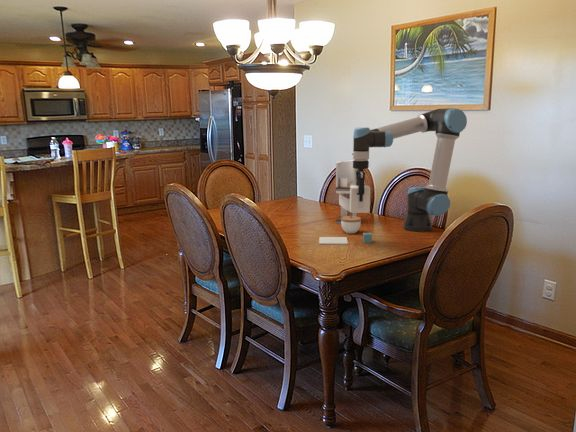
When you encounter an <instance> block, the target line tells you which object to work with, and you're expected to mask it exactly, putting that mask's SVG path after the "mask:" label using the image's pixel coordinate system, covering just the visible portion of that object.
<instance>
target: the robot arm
mask: <svg viewBox="0 0 576 432" xmlns="http://www.w3.org/2000/svg"><path fill="white" fill-rule="evenodd" d="M467 123H468V118H467V116H466V114H465V112H464V111H463V110H462V109H459V108H455V107H450V108H449V107H448V108H436V109H433V110H430V111H426V112H424V113H420V114H418V115H417V117H413V118H409V119H406V120H402V121H399V122H396V123H390V124H388V125H383V126H381V127H380V126H379V127H377V128H372V129H371V128H370V127H367V126H366V127H363V126H362V127H355V128H354V129H353V143H352V144H353V151H352V153H351V155H352V160H353V168H355V169H357V171H356V186H358V193H357V195H358V208H363V204H364V186H365V178H366V177H365V175H366V172H365V169H366V170H368V169H369V166H370V165H369V164H370V163H369V159H370V148H390V147H391V146H392V145H393V142H394V140H395V139H397V138H401V137H405V136H409V135H412V134H416V133H420V132H421V133H422V134H423V133H427V132H435V133H434V135H435V136H436V137H437V139H436V144H435V149H434V155H433V161H432V164H431V170H430V175H429V179H428V180H429V181H428V184H427V185H425V186H414V187H413V186H412V187H409V188H408V189H407V190H408V191H407V210H406V211H407V213H406V217H405V219H404V222H403V226H402V227H403V228H402V229H404V230H407V231H412V232H429V231H431V230H432V229H433V224H432V221H431V217H430V216H435V217H441V216H442V215H444V214H446V213H447V212H448V211H449V209H450V206H451V200H450V198H449V196H448V192H449V190H448V189H447V182H448V177H449V173H450V167H451V164H452V163H451V162H452V157H453V153H454V147H455V144H456V143H455V142H456V140H457V139H458V138H460V134H461V133H462V132H463V131H464V130H465V129H466V128H467ZM360 191H362V192H360Z"/></svg>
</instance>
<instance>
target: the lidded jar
mask: <svg viewBox="0 0 576 432" xmlns="http://www.w3.org/2000/svg"><path fill="white" fill-rule="evenodd" d="M361 222H362V218H361V217H360V216H352V215H350V216H344V217H341V224H340V225H341V228H342V230H343V231H344V232H345V234H355V233H357V232H358V231H359V230H360V229H361V224H362V223H361Z"/></svg>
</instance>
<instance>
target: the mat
mask: <svg viewBox="0 0 576 432" xmlns="http://www.w3.org/2000/svg"><path fill="white" fill-rule="evenodd" d="M318 244H319V245H330V246H331V245H333V246H334V245H342V246H343V245H344V246H345V245H346V246H347V245H349V241H348V239H347V237H346V236H319V238H318Z"/></svg>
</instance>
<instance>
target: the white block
mask: <svg viewBox="0 0 576 432" xmlns="http://www.w3.org/2000/svg"><path fill="white" fill-rule="evenodd" d="M360 192H362V191H360ZM357 193H358V186H351V185H350V212H351V213H357V214H370V211H371V210H370V209H371V187H370V186H369V185H364V204H363V208H358V195H357Z"/></svg>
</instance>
